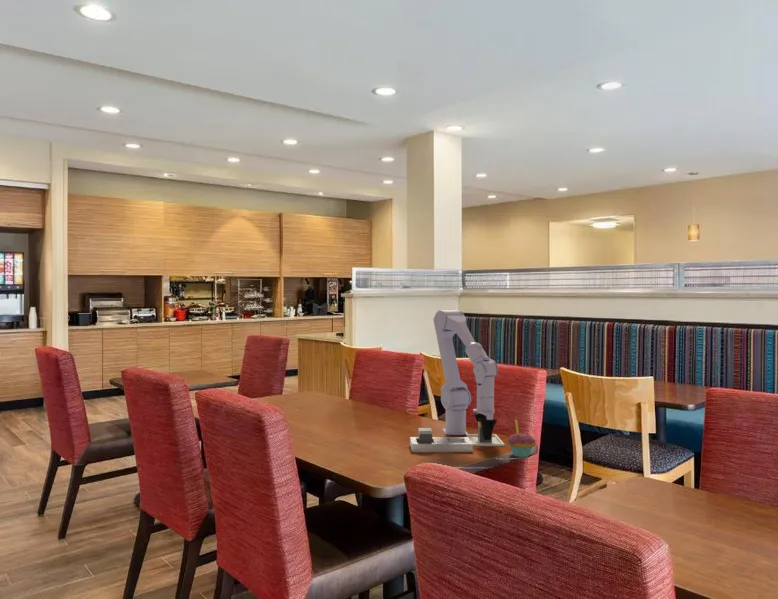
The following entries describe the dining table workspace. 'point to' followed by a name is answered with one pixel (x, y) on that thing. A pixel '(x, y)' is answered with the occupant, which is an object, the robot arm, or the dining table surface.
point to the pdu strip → (442, 445)
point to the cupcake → (521, 443)
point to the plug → (481, 434)
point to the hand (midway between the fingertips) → (484, 436)
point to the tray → (495, 442)
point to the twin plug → (424, 435)
